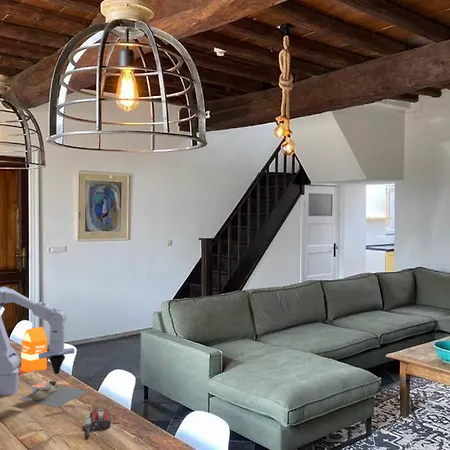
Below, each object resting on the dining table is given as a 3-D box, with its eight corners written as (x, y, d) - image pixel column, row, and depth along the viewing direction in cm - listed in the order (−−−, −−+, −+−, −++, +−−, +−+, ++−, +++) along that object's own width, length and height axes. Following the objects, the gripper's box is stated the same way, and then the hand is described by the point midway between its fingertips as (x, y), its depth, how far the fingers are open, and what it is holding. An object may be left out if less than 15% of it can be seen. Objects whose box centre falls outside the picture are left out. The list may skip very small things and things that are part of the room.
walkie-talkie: (84, 417, 185) (84, 440, 166) (85, 405, 185) (84, 427, 166) (109, 415, 188) (111, 438, 168) (109, 403, 188) (112, 424, 168)
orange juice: (20, 370, 239) (21, 328, 239) (37, 366, 246) (37, 325, 246) (30, 373, 235) (31, 330, 235) (47, 369, 242) (47, 327, 242)
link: (51, 388, 211) (51, 380, 211) (58, 389, 210) (58, 380, 210) (32, 399, 197) (32, 391, 197) (39, 400, 197) (39, 391, 197)
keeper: (36, 391, 207) (37, 383, 207) (52, 393, 206) (52, 384, 206) (31, 395, 203) (31, 386, 203) (46, 396, 202) (47, 387, 202)
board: (18, 402, 198) (18, 399, 198) (53, 387, 217) (53, 384, 216) (57, 409, 191) (57, 407, 191) (89, 393, 210) (89, 391, 210)
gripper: (43, 345, 199) (42, 379, 199) (77, 339, 209) (77, 372, 209) (36, 341, 204) (36, 374, 204) (70, 336, 214) (69, 368, 214)
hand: (56, 373), depth 207 cm, fingers closed
